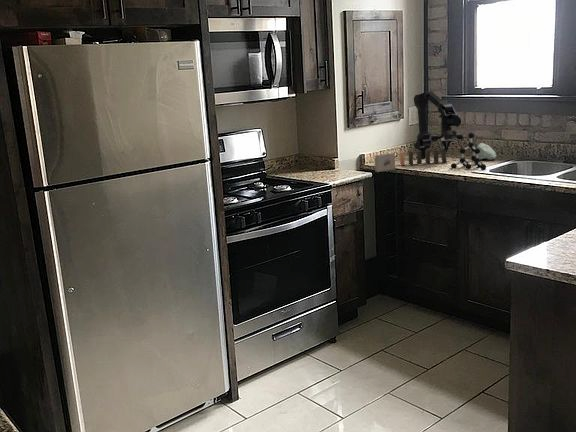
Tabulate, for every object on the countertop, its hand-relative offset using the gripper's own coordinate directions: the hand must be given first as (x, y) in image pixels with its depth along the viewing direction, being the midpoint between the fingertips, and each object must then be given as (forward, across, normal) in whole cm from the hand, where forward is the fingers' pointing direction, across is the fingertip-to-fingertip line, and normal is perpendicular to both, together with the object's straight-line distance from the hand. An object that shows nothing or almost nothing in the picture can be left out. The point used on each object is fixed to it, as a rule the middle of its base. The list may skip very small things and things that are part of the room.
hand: (446, 151), depth 374 cm
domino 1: (+6, -26, 0) cm, 27 cm away
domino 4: (+6, -11, 0) cm, 13 cm away
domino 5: (+6, -6, 0) cm, 9 cm away
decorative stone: (+7, +24, +2) cm, 25 cm away
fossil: (+7, -38, -14) cm, 41 cm away
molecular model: (+7, +10, -19) cm, 23 cm away
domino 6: (+6, -1, 0) cm, 6 cm away
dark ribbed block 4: (+6, -16, 0) cm, 17 cm away
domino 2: (+6, -21, 0) cm, 22 cm away
